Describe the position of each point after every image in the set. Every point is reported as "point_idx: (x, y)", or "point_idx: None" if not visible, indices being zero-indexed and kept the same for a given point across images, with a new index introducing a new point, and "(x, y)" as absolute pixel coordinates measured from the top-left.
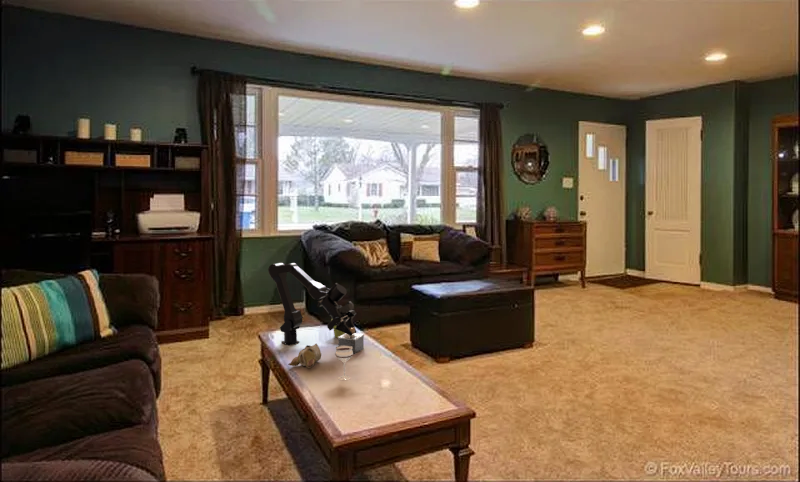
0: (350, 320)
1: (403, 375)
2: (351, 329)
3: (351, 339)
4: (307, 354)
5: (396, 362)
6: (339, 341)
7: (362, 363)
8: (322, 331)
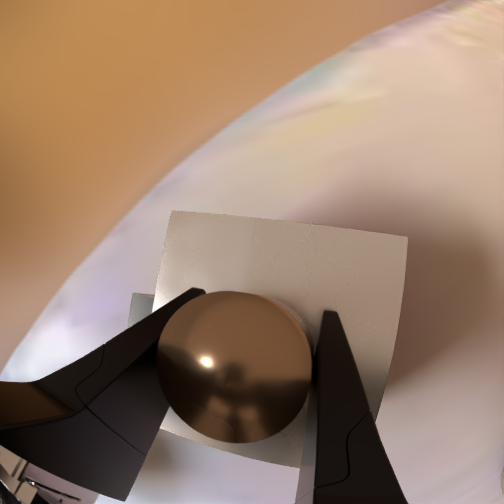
0: (53, 427)
1: (488, 24)
2: (305, 339)
3: (401, 293)
4: None
5: (398, 33)
6: None
7: (496, 165)
8: None
